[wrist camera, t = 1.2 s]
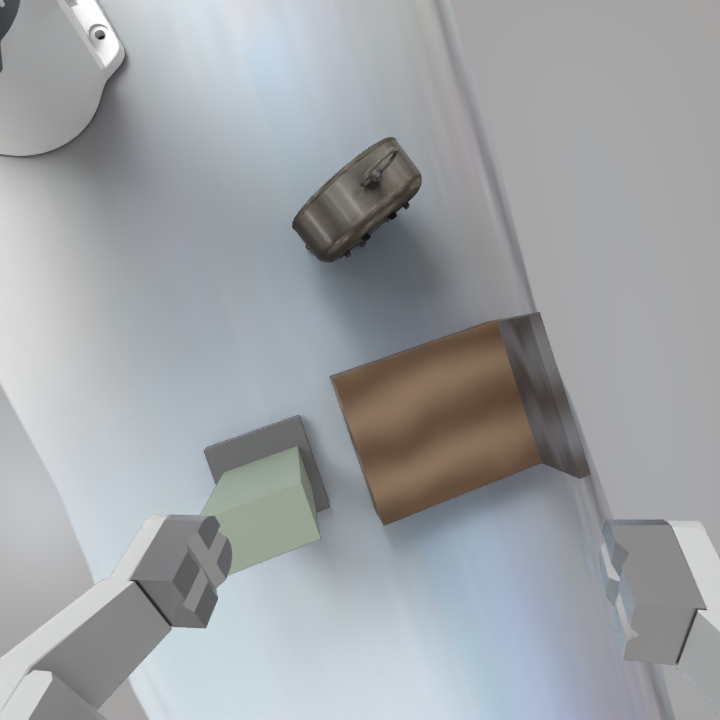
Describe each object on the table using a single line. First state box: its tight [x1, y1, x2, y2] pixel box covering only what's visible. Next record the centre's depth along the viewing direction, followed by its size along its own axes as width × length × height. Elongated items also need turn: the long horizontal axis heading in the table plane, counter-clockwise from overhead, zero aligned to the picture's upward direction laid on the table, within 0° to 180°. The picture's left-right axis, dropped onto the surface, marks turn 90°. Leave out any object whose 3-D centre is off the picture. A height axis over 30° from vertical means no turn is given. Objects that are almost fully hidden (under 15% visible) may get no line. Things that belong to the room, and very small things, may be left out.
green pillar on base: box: [199, 415, 330, 575], centre depth 38 cm, size 9×9×14 cm
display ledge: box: [330, 312, 590, 525], centre depth 42 cm, size 14×17×10 cm
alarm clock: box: [292, 137, 422, 262], centre depth 38 cm, size 11×5×16 cm, turn 130°
